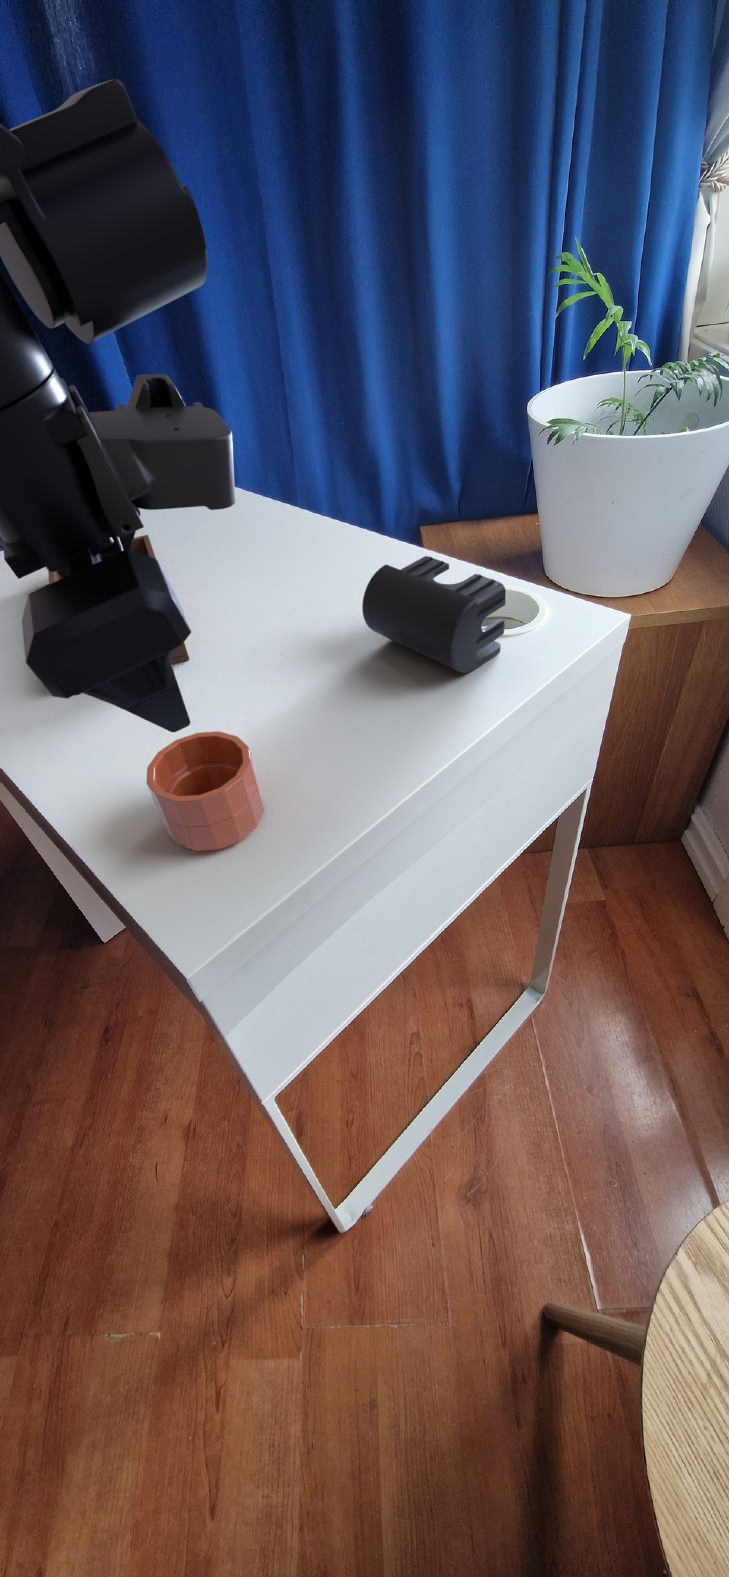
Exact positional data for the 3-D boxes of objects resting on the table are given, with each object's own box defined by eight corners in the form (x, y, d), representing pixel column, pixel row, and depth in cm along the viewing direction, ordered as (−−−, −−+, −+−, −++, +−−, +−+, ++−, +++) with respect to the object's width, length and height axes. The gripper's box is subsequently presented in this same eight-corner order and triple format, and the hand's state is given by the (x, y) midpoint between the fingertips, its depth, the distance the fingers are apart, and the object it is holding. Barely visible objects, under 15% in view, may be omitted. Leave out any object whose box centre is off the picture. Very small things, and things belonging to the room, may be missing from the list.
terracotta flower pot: (196, 872, 45) (174, 818, 41) (153, 816, 49) (129, 762, 45) (284, 821, 47) (269, 766, 44) (235, 772, 51) (218, 718, 48)
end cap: (365, 649, 62) (357, 578, 57) (421, 616, 65) (417, 545, 60) (450, 692, 56) (449, 616, 51) (507, 653, 59) (511, 578, 54)
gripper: (225, 375, 23) (351, 712, 34) (135, 279, 35) (250, 551, 47) (-98, 517, 22) (142, 813, 34) (-74, 368, 34) (96, 622, 46)
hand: (165, 679), depth 40 cm, fingers open, 9 cm apart
